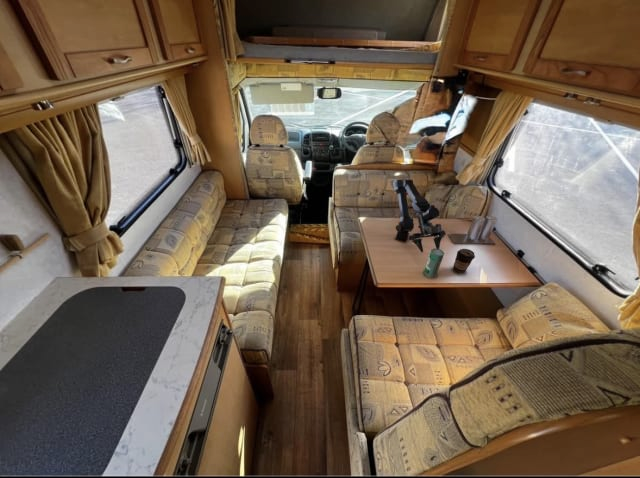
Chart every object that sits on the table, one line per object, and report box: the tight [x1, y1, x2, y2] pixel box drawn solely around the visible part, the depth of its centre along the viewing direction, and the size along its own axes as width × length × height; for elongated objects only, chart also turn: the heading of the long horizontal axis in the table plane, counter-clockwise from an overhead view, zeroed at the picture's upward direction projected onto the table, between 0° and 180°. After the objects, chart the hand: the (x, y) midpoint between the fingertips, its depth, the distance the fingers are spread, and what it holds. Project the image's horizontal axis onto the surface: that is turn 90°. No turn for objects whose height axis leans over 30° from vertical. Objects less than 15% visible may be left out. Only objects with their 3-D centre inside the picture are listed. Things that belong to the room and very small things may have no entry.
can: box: [423, 247, 445, 279], centre depth 135 cm, size 6×6×15 cm
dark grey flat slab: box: [448, 233, 496, 246], centre depth 166 cm, size 25×10×1 cm, turn 89°
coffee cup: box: [452, 248, 476, 275], centre depth 138 cm, size 9×8×13 cm
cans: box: [466, 215, 498, 241], centre depth 161 cm, size 14×6×15 cm, turn 89°
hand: (430, 251), depth 137 cm, fingers open, 9 cm apart
